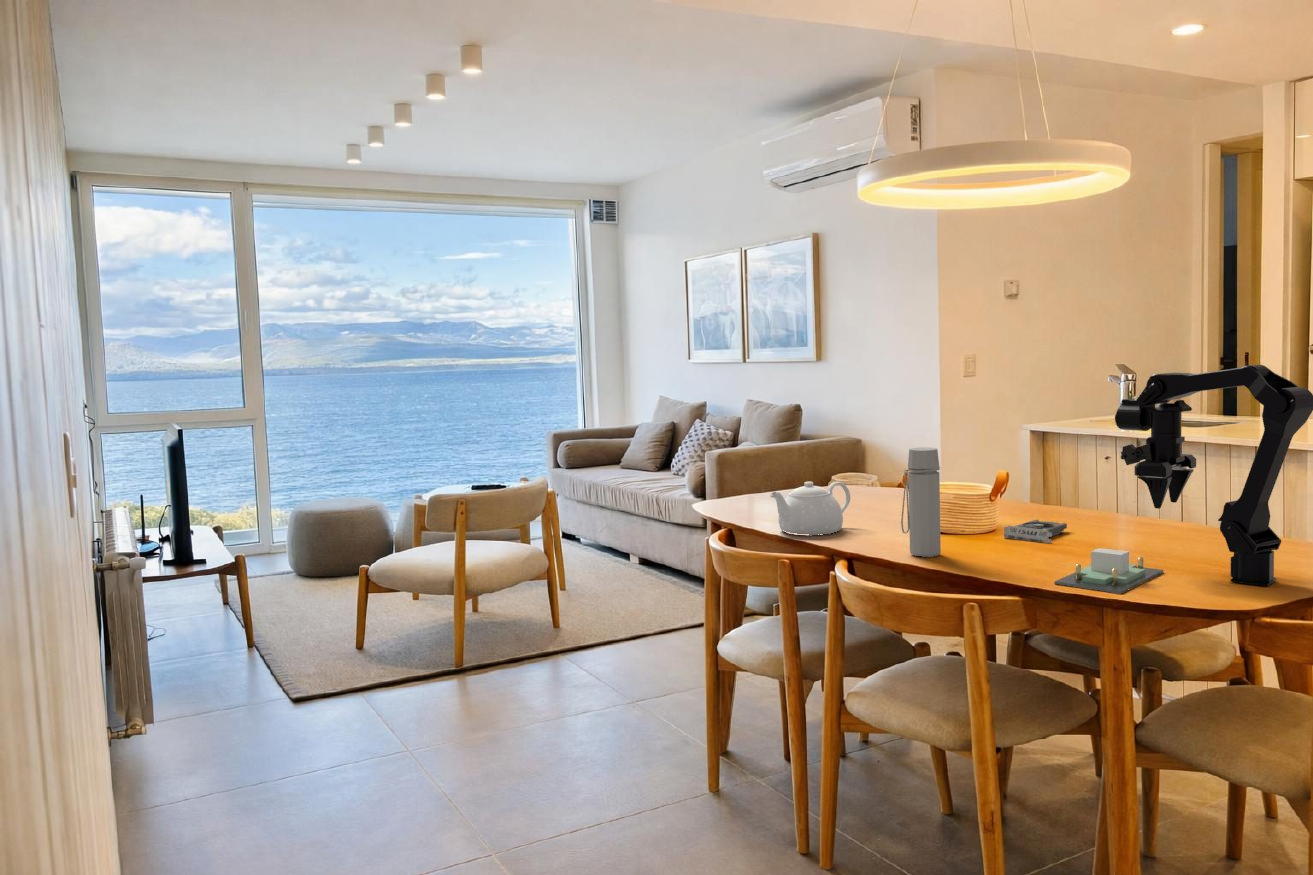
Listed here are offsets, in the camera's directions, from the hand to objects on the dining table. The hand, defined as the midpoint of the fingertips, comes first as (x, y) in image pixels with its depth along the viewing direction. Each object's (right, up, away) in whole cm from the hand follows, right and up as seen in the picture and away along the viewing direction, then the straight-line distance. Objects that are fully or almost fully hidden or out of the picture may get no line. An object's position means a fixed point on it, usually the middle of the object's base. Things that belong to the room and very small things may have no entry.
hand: (1165, 505), depth 208 cm
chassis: (-16, -14, -8) cm, 23 cm away
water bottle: (-46, -13, +22) cm, 53 cm away
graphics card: (-12, -11, +38) cm, 41 cm away
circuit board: (-16, -14, -8) cm, 22 cm away
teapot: (-66, -11, +57) cm, 88 cm away
